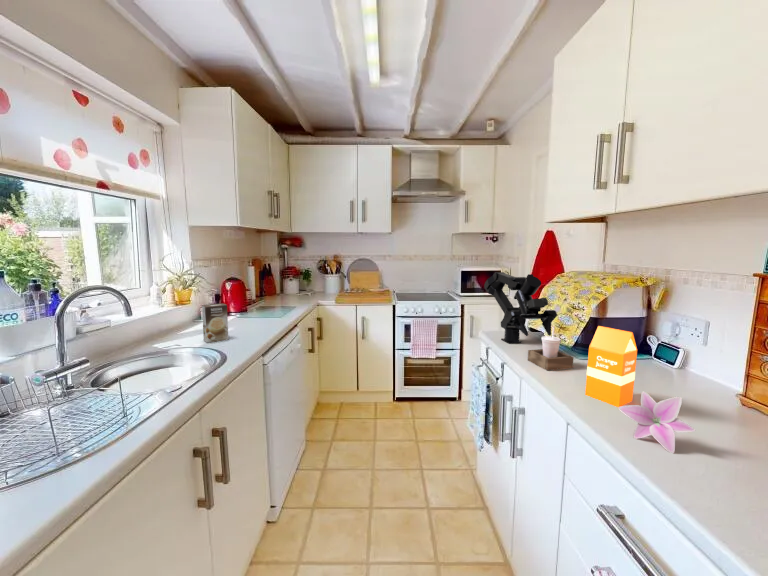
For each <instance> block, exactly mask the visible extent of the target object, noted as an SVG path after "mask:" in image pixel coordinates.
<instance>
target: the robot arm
mask: <svg viewBox="0 0 768 576" xmlns="http://www.w3.org/2000/svg"><path fill="white" fill-rule="evenodd" d="M506 285H507V288H508V289H509V290H511V291H516V292H515V293H514V296H513V300H516V301H517V303H518V307H514V305H513V304H512V303H511V300H510V299H509V298H508V297H507V295H506V293H505V292H504V290H503V289H504V287H505V286H506ZM541 286H542V281H541V279H539V278H538V277H536V276H535V275H534V274H527V275H526V276H513V275H510V274H507V273H506V272H503V271H502V272H500V271H499V272H497V271H495V272H494V273H493V275H491V276H490V277H488V278H487V279H486V281H485V282H484V286H483V287H484V289H485V291H486V293H488V294H489V295H491V296H493V297H494V299H495V301H496V302H497V304H498V306H499V307H500V309H501V310H502V312H503V313H504V315H503V318H502V319H501V321H500V328H502V329H504V336H503V337H504V338H501V341H503V342H505V343H507V344H519V343H520V344H521V342H522V341H521V340H520V335H521V334H520V332H522V334H523V335H525V337H528V336H529V332H528V329H527V327H526V322H527V320H537V319H538V320H540V322H542V323H541V325H542V326H543V329H544V330H545V332H546V333H547V336H552V322H553V321H554V320H555V319H556V318H557V317H558V314H557V311H556V310H555V309H546V310H544V311H543V312H542V313H540V312H541V309H542V308H545V307H546V306H548V305H549V300H548V299H547V297H541V298H533V297H532V296H533V295H535V294H536V293H537V291H538V290H539V288H540V287H541Z"/></svg>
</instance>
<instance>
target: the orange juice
mask: <svg viewBox="0 0 768 576" xmlns="http://www.w3.org/2000/svg"><path fill="white" fill-rule="evenodd" d="M587 356H588V357H587V366H586V379H585V380H586V381H585V390H584V391H585V394H584V396H587V397H589V396H590V398H593V399H595V400H597V399H598V400H597V401H600V400H601V401H600V402H603V403H605V402H606V404H609V405H612V406H613V407H617V408H618V407H620V406H626V405H628V404H630V403H631V402H633V397H634V387H635V379H636V367H637V356H638V348H637V344H636V340H635V336H634V333H633V332H632V331H628V330H623V329H617V328H612V327H608V326H602V325H598V326H597V328H596V330H595V333H594V335H593V338H592V340H591V342H590V344H589V347H588V355H587Z"/></svg>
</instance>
